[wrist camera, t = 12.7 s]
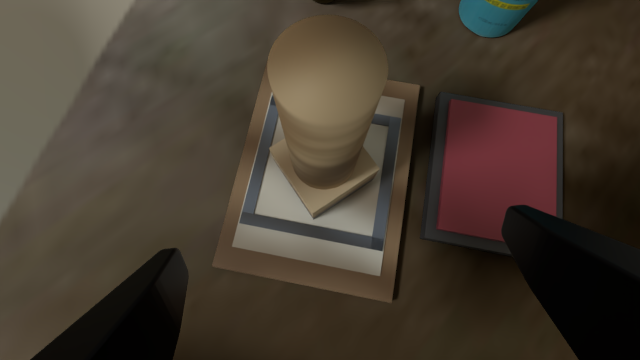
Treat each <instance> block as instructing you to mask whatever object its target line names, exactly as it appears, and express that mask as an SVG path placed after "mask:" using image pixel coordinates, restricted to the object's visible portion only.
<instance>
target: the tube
mask: <svg viewBox="0 0 640 360" xmlns="http://www.w3.org/2000/svg"><path fill="white" fill-rule="evenodd" d="M537 1H538V0H461V2H460V5H459V15H460V18H461V21H462V22H463V24H464V25H465V26H466V27H467V28H468V29H470V30H471V31H472V32H474V33H475V34H477V35H479V36H483V37H491V38H492V37H500V36H503V35H505V34H507V33H508V32H510V31H511V30H512V29H513V28H514V27H515V26H516V25H517V24H518V23H519V21H520V20H521V19H522V18H523V17H524V16H525V15H526V14H527V12H528V11H529V10H530V9H531V8H532V7H533V6H534V5H535V3H536V2H537Z"/></svg>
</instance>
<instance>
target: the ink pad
mask: <svg viewBox="0 0 640 360" xmlns="http://www.w3.org/2000/svg"><path fill="white" fill-rule="evenodd" d="M514 205H528V206H530V207H533V208H535V209H538V210H540V211H543V212H545V213H548V214H551V215H553V216H556V217H558V218H561V219H563V113H562V112H556V111H550V110H544V109H539V108H533V107H527V106H521V105H515V104H509V103H504V102H498V101H492V100H486V99H480V98H475V97H469V96H463V95H457V94H451V93H445V92H440V93H439V95H438V96H437V98H436V103H435V112H434V121H433V129H432V138H431V147H430V156H429V165H428V173H427V182H426V191H425V200H424V209H423V217H422V226H421V235H420V239H424V240H429V241H434V242H439V243H445V244H450V245H455V246H460V247H465V248H470V249H475V250H481V251H486V252H491V253H496V254H501V255H506V256H511V257H513V256H512V254H511V252H510V251H509V249H508V247H507V245H506V243H505V241H504V239H503V237H502V234H501V228H502V224H503V221H504V217H505V213H506V210H507V208H508V207H510V206H514Z"/></svg>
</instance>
